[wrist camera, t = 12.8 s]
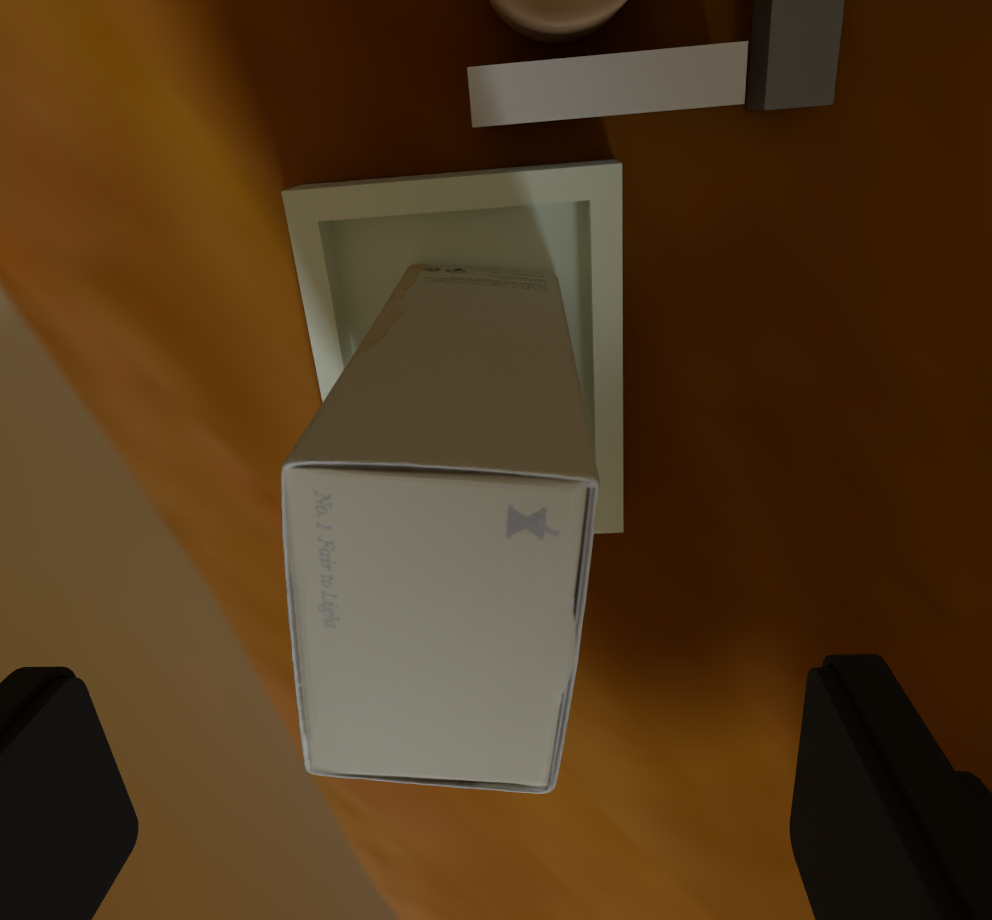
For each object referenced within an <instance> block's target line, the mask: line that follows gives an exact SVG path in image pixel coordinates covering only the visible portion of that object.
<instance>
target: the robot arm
mask: <svg viewBox="0 0 992 920" xmlns="http://www.w3.org/2000/svg"><path fill="white" fill-rule="evenodd" d="M137 835H138V819H137V816H136V814H135V811H134V808H133V806H132V803H131V801H130V798H129V795H128V793H127V790H126V788H125V785H124V783H123V780H122V777H121V775H120V773H119V770H118V767H117V764H116V762H115V759H114V757H113V754H112V752H111V749H110V746H109V744H108V741H107V739H106V736H105V733H104V731H103V728H102V726H101V723H100V721H99V718H98V716H97V713H96V710H95V708H94V705H93V703H92V700H91V697H90V695H89V692H88V690H87V687H86V685H85V683H84V682H83V681H82V680H81V679H79V678H76V676H75V674H74V673H73V671H71V670H70V669H69V668H67V667H23V668H19V669H16V670H15V671H14V672H12V673H11V674H10V675H8V676H7V677H6V678H5V679H4V680H3V681H2V682H1V683H0V920H91V919H92V918H93V916H94V914H95V913H96V911H97V909H98V908H99V906H100V904H101V903H102V901H103V899H104V897H105V896H106V894H107V892H108V891H109V889H110V887H111V886H112V884H113V882H114V880H115V879H116V877H117V875H118V874H119V872H120V870H121V869H122V867H123V865H124V864H125V862H126V860H127V859H128V857H129V855H130V853H131V852H132V850H133V848H134V846H135V843H136V840H137ZM790 838H791V845H792V850H793V854H794V857H795V860H796V863H797V866H798V869H799V872H800V875H801V878H802V881H803V884H804V887H805V890H806V893H807V896H808V899H809V902H810V905H811V908H812V911H813V914H814V917H815V920H992V794H991V792H990V791H989V790H988V789H987V787H986V786H985V785H984V784H983V783H982V781H981V780H980V779H979V778H977V777H976V776H974V775H973V774H971V773H970V772H961V771H955V770H954V769H953V767H952V766H951V764H950V763H949V761H948V759H947V758H946V756H945V755H944V753H943V752H942V750H941V748H940V747H939V745H938V744H937V742H936V741H935V739H934V737H933V736H932V734H931V733H930V731H929V730H928V728H927V727H926V725H925V723H924V722H923V720H922V719H921V717H920V716H919V714H918V712H917V711H916V709H915V708H914V706H913V705H912V703H911V701H910V700H909V698H908V697H907V695H906V694H905V692H904V690H903V689H902V687H901V686H900V684H899V683H898V681H897V679H896V678H895V676H894V675H893V673H892V672H891V670H890V668H889V667H888V665H887V664H886V662H885V661H884V660H883V659H882V657H881V656H879V655H877V654H858V655H828V656H826V657H825V659H824V661H823V665H822V667H820V668H810V670H809V672H808V677H807V685H806V693H805V701H804V710H803V718H802V726H801V734H800V743H799V751H798V759H797V767H796V776H795V784H794V792H793V801H792V809H791V817H790Z"/></svg>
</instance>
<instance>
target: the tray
mask: <svg viewBox="0 0 992 920" xmlns="http://www.w3.org/2000/svg"><path fill="white" fill-rule="evenodd" d="M281 193H282V198H283V203H284V208H285V213H286V218H287V223H288V229H289V234H290V239H291V244H292V249H293V254H294V259H295V264H296V269H297V274H298V280H299V285H300V290H301V295H302V300H303V305H304V310H305V315H306V320H307V326H308V331H309V336H310V341H311V346H312V351H313V356H314V361H315V366H316V371H317V377H318V382H319V387H320V392H321V397H322V402H324V400H325V398H326V397H327V395H328V394H329V392H330V390H331V389H332V387H333V386H334V384H335V383H336V381H337V380H338V378H339V377H340V375H341V373H342V372H343V370H344V368H345V367H346V365H347V364H348V363H349V361H350V359H351V358H352V356H353V355H354V353H355V351H356V350H357V348H358V347H359V345H360V343H361V342H362V340H363V339H364V337H365V335H366V334H367V332H368V331H369V329H370V328H371V326H372V325H373V323H374V321H375V320H376V318H377V317H378V315H379V314H380V312H381V310H382V309H383V307H384V306H385V304H386V302H387V301H388V299H389V298H390V296H391V294H392V293H393V291H394V289H395V288H396V286H397V285H398V283H399V281H400V280H401V278H402V276H403V275H404V273H405V272H406V270H407V269H408V267H409V266H410V265H413V264H422V265H445V266H464V267H478V268H491V269H503V270H513V271H524V272H534V273H543V274H553V275H555V276H557V277H558V280H559V285H560V290H561V295H562V300H563V305H564V309H565V315H566V318H567V324H568V328H569V334H570V339H571V344H572V349H573V354H574V358H575V363H576V368H577V373H578V378H579V382H580V387H581V393H582V397H583V401H584V407H585V413H586V418H587V423H588V427H589V431H590V436H591V440H592V445H593V450H594V456H595V461H596V466H597V471H598V475H599V480H600V491H599V496H598V501H597V510H596V517H595V528H594V534H601V533H623V260H622V163H621V162H619V161H617V160H615V159H608V160H596V161H584V162H572V163H560V164H548V165H536V166H523V167H511V168H499V169H487V170H475V171H463V172H451V173H439V174H427V175H414V176H402V177H390V178H378V179H366V180H354V181H342V182H330V183H318V184H306V185H299V186H296V187H293V188H290V189H287V190H284V191H281Z"/></svg>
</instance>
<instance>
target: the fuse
mask: <svg viewBox="0 0 992 920" xmlns="http://www.w3.org/2000/svg"><path fill="white" fill-rule="evenodd" d="M488 1H489V3H490V5H491V6H492V7H493V9H494V10H495V12H496V13H497V15H498V16H499V17H500V18H501V19H502V20H503V21H504V22H505V23H506V24H507V25H508V26H509V27H510V28H511V29H513V30H514V31H516V32H517V33H519V34H520V35H522V36H524V37H526V38H529V39H531V40H534V41H537V42H541V43H548V44H563V43H569V42H573V41H577V40H580V39H583V38H585V37H587V36H589V35H591V34H593V33H594V32H596V31H597V30H599V29H600V28H602V27H603V26H604V25H605V24H606V23H607V22H608V21H610V20H611V18H612V17H613V16H614V15H615V14H616V13H617V12H618V11H619V9H620V8H621V7H622V6H623V5H624V4H625V2H626V1H627V0H488Z"/></svg>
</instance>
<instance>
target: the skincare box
mask: <svg viewBox="0 0 992 920" xmlns="http://www.w3.org/2000/svg"><path fill="white" fill-rule="evenodd" d="M599 491H600V480H599V475H598V471H597V466H596V461H595V456H594V450H593V445H592V440H591V436H590V431H589V427H588V423H587V418H586V413H585V407H584V401H583V397H582V393H581V387H580V382H579V378H578V373H577V368H576V363H575V358H574V354H573V349H572V344H571V339H570V334H569V328H568V324H567V318H566V315H565V309H564V305H563V300H562V295H561V290H560V285H559V280H558V277H557V276H555V275H553V274H543V273H534V272H524V271H513V270H503V269H491V268H478V267H464V266H445V265H422V264H413V265H410V266H409V267H408V269H407V270H406V272H405V273H404V275H403V276H402V278H401V280H400V281H399V283H398V285H397V286H396V288H395V289H394V291H393V293H392V294H391V296H390V298H389V299H388V301H387V302H386V304H385V306H384V307H383V309H382V310H381V312H380V314H379V315H378V317H377V318H376V320H375V321H374V323H373V325H372V326H371V328H370V329H369V331H368V332H367V334H366V335H365V337H364V339H363V340H362V342H361V343H360V345H359V347H358V348H357V350H356V351H355V353H354V355H353V356H352V358H351V359H350V361H349V363H348V364H347V365H346V367H345V368H344V370H343V372H342V373H341V375H340V377H339V378H338V380H337V381H336V383H335V384H334V386H333V387H332V389H331V390H330V392H329V394H328V395H327V397H326V398H325V400H324V402H323V403H322V405H321V406H320V408H319V409H318V411H317V413H316V414H315V416H314V417H313V419H312V421H311V422H310V424H309V425H308V427H307V428H306V429H305V431H304V432H303V434H302V435H301V437H300V439H299V440H298V442H297V443H296V445H295V446H294V448H293V449H292V451H291V452H290V454H289V455H288V457H287V458H286V460H285V461H284V462H283V465H282V470H281V505H282V536H283V548H284V565H285V577H286V591H287V605H288V618H289V628H290V636H291V646H292V661H293V669H294V677H295V686H296V699H297V706H298V713H299V724H300V732H301V743H302V749H303V756H304V763H305V768H306V771H308V772H309V773H311V774H315V775H319V776H331V777H340V778H356V779H368V780H377V781H388V782H398V783H413V784H420V785H436V786H445V787H456V788H472V789H484V790H499V791H508V792H523V793H534V794H543V793H549V792H550V791H552V790H553V789H554V788H555V785H556V782H557V777H558V772H559V767H560V762H561V756H562V751H563V746H564V740H565V734H566V727H567V722H568V717H569V711H570V705H571V699H572V694H573V688H574V682H575V676H576V670H577V664H578V657H579V649H580V641H581V633H582V625H583V617H584V611H585V604H586V596H587V588H588V579H589V571H590V563H591V554H592V546H593V538H594V528H595V517H596V510H597V501H598V496H599Z"/></svg>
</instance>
